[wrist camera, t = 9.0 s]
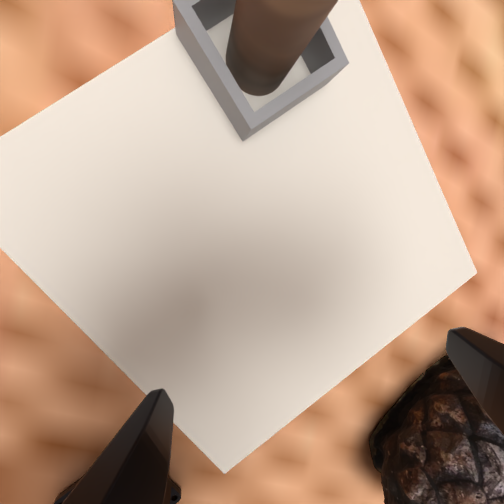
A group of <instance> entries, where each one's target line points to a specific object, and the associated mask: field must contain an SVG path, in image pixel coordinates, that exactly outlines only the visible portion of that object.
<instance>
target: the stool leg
mask: <svg viewBox="0 0 504 504" xmlns="http://www.w3.org/2000/svg"><path fill="white" fill-rule="evenodd" d="M337 2H338V0H236V4H235V9H234V14H233V19H232V24H231V29H230V34H229V39H228V44H227V50H226V65H227V67H228V69H229V70H230V72H231V74H232V75H233V77H234V79H235V81H236V82H237V84H238V86H239V87H240V89H241V90H242V91H244V92H245V93H247V94H250V95H253V96H264V95H268V94H270V93H272V92H273V91H275V90H276V89H277V88H278V87H279V86H280V84H281V83H282V81H283V80H284V79H285V77H286V76H287V74H288V73H289V71H290V70H291V68H292V67H293V65H294V64H295V63H296V61H297V60H298V58H299V57H300V55H301V54H302V52H303V51H304V50H305V48H306V47H307V45H308V44H309V42H310V41H311V39H312V38H313V36H314V35H315V34H316V32H317V31H318V29H319V28H320V26H321V25H322V23H323V22H324V20H325V19H326V18H327V16H328V15H329V13H330V12H331V10H332V9H333V7H334V6H335V4H336V3H337Z"/></svg>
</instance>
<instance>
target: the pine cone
mask: <svg viewBox="0 0 504 504" xmlns="http://www.w3.org/2000/svg"><path fill="white" fill-rule="evenodd" d="M448 358H449V356H448V355H446V356H444V357H443V358H441V359H440V360H438V361H437V362H436V363H435V364H433V365H432V366H431V367H430V368H429V369H427V370H426V372H425V374H424V375H423V374H422V375H423V376H422V375H421V376H420V377H419V378H418V379H417V380H416V381H415V382H414V383H413V384H412V385H411V386H410V387H409V389H408V390H407V391H406V392H405V393H404V394H403V396H402V397H401V398H400V399H399V401H398V402H397V403H396V404H395V405H394V406H393V407H392V408H391V409H390V410H389V411H388V413H387V414H386V415H385V416H384V418H383V419H382V420H381V422H380V423H379V424H378V426H377V427H376V429H375V431H374V432H373V434H372V436H371V438H370V440H369V445H370V450H371V455H372V460H373V464H374V467H375V468H376V469H377V470H378V471H379V472H380V473H381V478H382V482H381V483H382V486H383V491H384V498H385V499H384V503H385V504H504V435H503V434H502V432H501V431H500V430H499V428H498V427H497V426H496V425H495V423H494V422H493V421H492V420H491V418H490V417H489V416H488V414H487V413H486V412H485V411H484V409H483V408H482V407H481V405H480V404H479V402H478V401H477V399H476V398H475V396H474V395H473V393H472V392H471V390H470V389H469V387H468V386H467V384H466V383H465V381H464V379H463V378H462V376H461V375H460V373H459V372H458V370H457V369H456V367H455V366H454V364H453V363H452V361H451V360H450V359H448Z"/></svg>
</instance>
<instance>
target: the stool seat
mask: <svg viewBox="0 0 504 504" xmlns="http://www.w3.org/2000/svg"><path fill="white" fill-rule="evenodd" d="M172 2H173V11H174V20H175V28H174V29H172V30H170V31H169V32H167V33H166V34H164V35H162V36H161V37H159V38H158V39H156V40H154V41H153V42H151V43H150V44H148V45H146V46H145V47H143V48H142V49H140V50H138V51H137V52H135V53H134V54H132V55H130V56H129V57H127V58H126V59H124V60H122V61H121V62H119V63H118V64H116V65H114V66H113V67H111V68H110V69H108V70H106V71H105V72H103V73H102V74H100V75H98V76H97V77H95V78H94V79H92V80H90V81H89V82H87V83H86V84H84V85H82V86H81V87H79V88H78V89H76V90H74V91H73V92H71V93H70V94H68V95H66V96H65V97H63V98H62V99H60V100H58V101H57V102H55V103H54V104H52V105H50V106H49V107H47V108H46V109H44V110H42V111H41V112H39V113H38V114H36V115H34V116H33V117H31V118H30V119H28V120H26V121H25V122H23V123H22V124H20V125H18V126H17V127H15V128H14V129H12V130H10V131H9V132H7V133H6V134H4V135H2V136H1V137H0V248H1V249H2V250H3V251H4V252H5V253H6V254H7V255H8V256H9V257H10V258H11V259H12V260H13V261H14V262H15V263H16V264H17V265H18V266H19V267H20V268H21V269H22V270H23V271H24V272H25V273H26V274H27V275H28V276H29V277H30V278H31V279H32V280H33V281H34V282H35V283H36V284H37V285H38V286H39V287H40V288H41V289H42V290H43V291H44V292H45V293H46V295H47V296H48V297H49V298H50V299H51V300H52V301H53V302H54V303H55V304H56V305H57V306H58V307H59V308H60V309H61V310H62V311H63V312H64V313H65V314H66V315H67V316H68V317H69V318H70V319H71V320H72V321H73V322H74V323H75V324H76V325H77V326H78V327H79V328H80V329H81V330H82V331H83V332H84V333H85V334H86V335H87V336H88V337H89V338H90V339H91V340H92V341H93V342H94V343H95V344H96V345H97V346H98V347H99V348H100V349H101V350H102V351H103V352H104V353H105V354H106V355H107V356H108V357H109V358H110V359H111V360H112V361H113V362H114V363H115V364H116V365H117V366H118V367H119V368H120V369H121V370H122V371H123V372H124V373H125V374H126V375H127V376H128V377H129V378H130V379H131V380H132V381H133V382H134V383H135V384H136V385H137V386H138V387H139V388H140V389H141V390H142V391H143V392H144V393H145V394H146V395H148V393H149V392H150V391H152V390H156V389H161V388H163V389H165V391H166V392H167V394H168V396H169V397H170V399H171V401H172V403H173V406H174V419H173V423H174V424H175V425H176V426H177V427H178V428H179V429H180V430H181V431H182V432H183V433H184V434H185V435H186V436H187V437H188V438H189V439H190V440H191V441H192V442H193V443H194V444H195V445H196V446H197V447H198V448H199V449H200V450H201V451H202V452H203V453H204V454H205V455H206V456H207V457H208V458H209V459H210V460H211V461H212V462H213V463H214V464H215V465H216V466H217V467H218V468H219V469H220V470H221V471H222V472H223V473H224V474H225V473H226V472H228V471H229V470H230V469H231V468H233V467H234V466H235V465H236V464H238V463H239V462H240V461H241V460H243V459H244V458H245V457H246V456H248V455H249V454H250V453H251V452H253V451H254V450H255V449H256V448H258V447H259V446H260V445H262V444H263V443H264V442H265V441H267V440H268V439H269V438H270V437H272V436H273V435H274V434H275V433H277V432H278V431H279V430H280V429H282V428H283V427H284V426H285V425H287V424H288V423H289V422H290V421H292V420H293V419H294V418H295V417H297V416H298V415H299V414H300V413H302V412H303V411H304V410H306V409H307V408H308V407H309V406H311V405H312V404H313V403H314V402H316V401H317V400H318V399H319V398H321V397H322V396H323V395H324V394H326V393H327V392H328V391H329V390H331V389H332V388H333V387H334V386H336V385H337V384H338V383H339V382H341V381H342V380H343V379H344V378H346V377H347V376H348V375H350V374H351V373H352V372H353V371H355V370H356V369H357V368H358V367H360V366H361V365H362V364H363V363H365V362H366V361H367V360H368V359H370V358H371V357H372V356H373V355H375V354H376V353H377V352H378V351H380V350H381V349H382V348H383V347H385V346H386V345H387V344H388V343H390V342H391V341H392V340H394V339H395V338H396V337H397V336H399V335H400V334H401V333H402V332H404V331H405V330H406V329H407V328H409V327H410V326H411V325H412V324H414V323H415V322H416V321H417V320H419V319H420V318H421V317H422V316H424V315H425V314H426V313H427V312H429V311H430V310H431V309H432V308H434V307H435V306H436V305H438V304H439V303H440V302H441V301H443V300H444V299H445V298H446V297H448V296H449V295H450V294H451V293H453V292H454V291H455V290H456V289H458V288H459V287H460V286H461V285H463V284H464V283H465V282H466V281H468V280H469V279H470V278H471V277H473V276H474V275H475V274H476V273H477V271H476V269H475V266H474V264H473V262H472V259H471V257H470V255H469V252H468V250H467V248H466V246H465V243H464V241H463V239H462V236H461V234H460V232H459V229H458V227H457V225H456V222H455V220H454V218H453V216H452V213H451V211H450V209H449V206H448V204H447V202H446V199H445V197H444V195H443V192H442V190H441V188H440V185H439V183H438V181H437V179H436V176H435V174H434V172H433V169H432V167H431V165H430V162H429V160H428V158H427V155H426V153H425V151H424V149H423V146H422V144H421V142H420V139H419V137H418V135H417V132H416V130H415V128H414V125H413V123H412V121H411V118H410V116H409V114H408V112H407V109H406V107H405V105H404V102H403V100H402V98H401V95H400V93H399V91H398V88H397V86H396V84H395V82H394V79H393V77H392V75H391V72H390V70H389V68H388V65H387V63H386V61H385V58H384V56H383V54H382V51H381V49H380V47H379V45H378V42H377V40H376V38H375V35H374V33H373V31H372V28H371V26H370V24H369V21H368V19H367V17H366V15H365V12H364V10H363V8H362V5H361V3H360V1H359V0H338V2H337V3H336V4H335V6H334V7H333V9H332V10H331V12H330V13H329V15H328V16H327V18H326V19H325V20H324V22H323V23H322V25H321V26H320V28H319V29H318V31H317V32H316V34H315V35H314V36H313V38H312V39H311V41H310V42H309V44H308V45H307V47H306V48H305V50H304V51H303V52H302V54H301V55H300V57H299V58H298V60H297V61H296V63H295V64H294V65H293V67H292V68H291V70H290V71H289V73H288V74H287V76H286V77H285V79H284V80H283V81H282V83H281V84H280V86H279V87H278V88H277V89H276V90H275V91H273V92H272V93H270V94H268V95H264V96H253V95H250V94H247V93H245V92H244V91H242V90H241V89H240V87H239V86H238V84H237V82H236V81H235V79H234V77H233V75H232V74H231V72H230V70H229V69H228V67H227V65H226V50H227V44H228V39H229V34H230V29H231V24H232V19H233V14H234V9H235V4H236V0H172Z"/></svg>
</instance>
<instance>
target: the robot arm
mask: <svg viewBox="0 0 504 504" xmlns="http://www.w3.org/2000/svg"><path fill="white" fill-rule="evenodd" d="M446 352H447V354H448V356H449V358H450V360H451V361H452V363H453V364H454V366H455V367H456V369H457V370H458V372H459V373H460V375H461V376H462V378H463V379H464V381H465V383H466V384H467V386H468V387H469V389H470V390H471V392H472V393H473V395H474V396H475V398H476V399H477V401H478V402H479V404H480V405H481V407H482V408H483V409H484V411H485V412H486V413H487V414H488V416H489V417H490V418H491V420H492V421H493V422H494V423H495V425H496V426H497V427H498V428H499V430H500V431H501V432H502V434H503V435H504V344H502V343H500V342H498V341H496V340H493V339H491V338H489V337H487V336H484V335H482V334H480V333H478V332H475V331H473V330H471V329H468V328H466V327H458V328H453V329H450V330H449V331H448V334H447V343H446ZM173 419H174V406H173V403H172V401H171V399H170V397H169V396H168V394H167V392H166V391H165V389H163V388H161V389H156V390H152V391H150V392H149V393H148V395H147V396H146V397H145V398H144V400H143V401H142V402H141V403H140V405H139V406H138V407H137V409H136V410H135V411H134V412H133V414H132V415H131V416H130V418H129V419H128V420H127V421H126V423H125V424H124V425H123V426H122V428H121V429H120V430H119V432H118V433H117V434H116V435H115V437H114V438H113V439H112V441H111V442H110V443H109V444H108V446H107V447H106V448H105V449H104V451H103V452H102V453H101V455H100V456H99V457H98V458H97V460H96V461H95V462H94V464H93V465H92V466H91V467H90V469H89V470H88V471H87V472H86V474H85V475H84V476H83V477H82V478H81V479H80V480H78V481H77V482H76V483H74V484H73V485H72V486H70V487H69V488H68V489H66V490H65V491H64V492H62V493H61V494H60V495H58V496H57V498H56V500H55V502H54V504H176V503H177V502H178V501H179V500H180V499H181V489H180V488H179V487H178V486H177V485H176V484H174V483H173V482H172V481H171V480H170V479H169V478H168V472H169V466H170V456H171V444H172V431H173Z"/></svg>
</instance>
